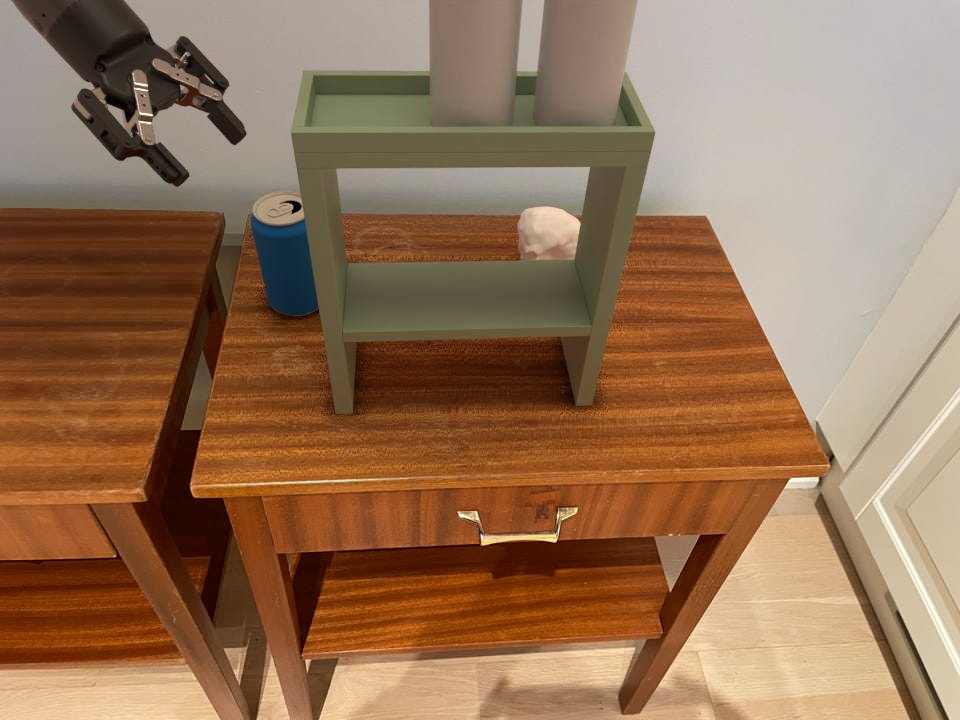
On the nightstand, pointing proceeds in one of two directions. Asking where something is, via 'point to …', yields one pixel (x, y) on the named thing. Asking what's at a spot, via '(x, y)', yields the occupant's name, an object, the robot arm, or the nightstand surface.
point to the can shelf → (413, 143)
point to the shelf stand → (473, 286)
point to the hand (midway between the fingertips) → (213, 160)
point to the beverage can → (284, 253)
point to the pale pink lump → (547, 234)
